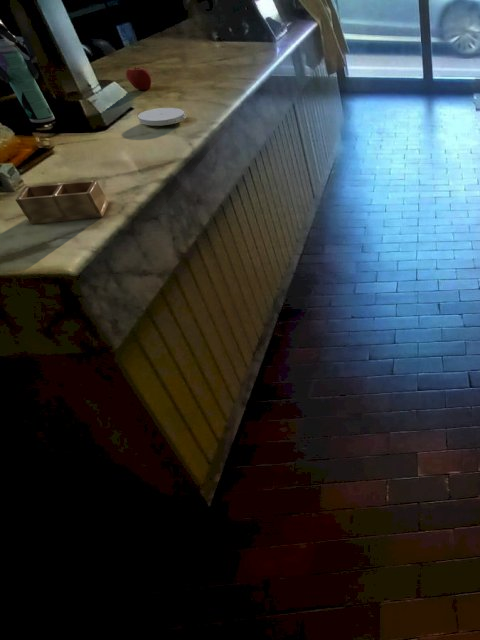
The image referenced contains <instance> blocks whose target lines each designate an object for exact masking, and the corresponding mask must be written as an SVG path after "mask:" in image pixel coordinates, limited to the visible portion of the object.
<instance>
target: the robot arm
mask: <svg viewBox="0 0 480 640" xmlns="http://www.w3.org/2000/svg"><path fill="white" fill-rule="evenodd" d="M0 33H1V35H2V36H3V37H4V38H6V40H9V41H11V42H14V43H15V45H16V46H17V45H18V44H20V45H21V46H22V47H23V48H25V49H26V51H27V53H28V54H26V53H25V52H24V51H22V50H21V49H20V47H18V49H19V51H20V53H21V55H22V57H23V58H24V60H25V62H26V64H27V66H28V68H29V70H30V72H31V74H32V76H33V77H34V79H35V80H39V76H40V75H39V70H38V69H37V68H36V66H35V65H34V64H37V63H38V62H39V61H38V58H37V54H36V52H35V49H34V47H33V44H32V42H31V40H30V38H29V36H28V35H27V34H22V35H21V36H16V35H14V34H12V33H11V32H10V31H9V30H8V28H7V26H6V25H5V24H4V22H3V21H2V19H0ZM0 80H1V81H3V82H5V83H6V84H10V80H9V78H8V76H7V75H6V73H5V72H4V70H3V69H2V68H1V66H0Z"/></svg>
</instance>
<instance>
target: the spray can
mask: <svg viewBox="0 0 480 640" xmlns="http://www.w3.org/2000/svg"><path fill="white" fill-rule="evenodd" d="M18 48H19V47H18V46H17V45H15V43H14V42H11V41H9V40H6V38H4V37H3V36H2V35H1V33H0V66H1V68H2V69H3V70H4V72H5V73H6V75H7V76H8V78H9V80H10V83H9V85H10V87H11V89H12V90H13V93H14V94H15V96H16V98H17V99H18V101H19V103H20V106H21V107H22V108H23V111H24V112H25V114H26V115H27V117H28V119H29V121H30V122H31V123H37V124H39V123H41V124H42V123H47V122H52V121H53V120H54V121H55V119H56V118H55V115H54V114H53V112H52V110H51V108H50V106H49V104H48V102H47V100H46V98H45V97H44V95H43V92H42V91H41V89H40V87H39V85H38V83H37V81H36V79H34V77H33V76H32V74H31V72H30V70H29V68H28V66H27V64H26V62H25V60H24V58H23V57H22V55H21V53H20V51H19V49H20V48H19V49H18Z"/></svg>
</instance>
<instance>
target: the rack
mask: <svg viewBox="0 0 480 640" xmlns="http://www.w3.org/2000/svg"><path fill="white" fill-rule="evenodd" d="M15 202H16V203H17V206H18V207H19V208H20V209H21V211H22V212H23V214H24V216H25V217H26V219H27V221H28V222H29V223H30V224H31V225H35V224H45V223H55V222H57V223H58V222H66V221H75V220H85V219H95V218H103V216H104V214H105V213H106V210H107V208H108V206H109V201H108V200H107V197H106V196H105V194H104V191H103V189H102V187H101V186H100V184H99V182H98V180H85V181H73V182H72V181H71V182H63V183H50V184H36V185H26V186H24V187H23V189H22V190H21V192H20V193H19V194H18V196H16V198H15Z"/></svg>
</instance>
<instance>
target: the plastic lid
mask: <svg viewBox="0 0 480 640" xmlns="http://www.w3.org/2000/svg"><path fill="white" fill-rule="evenodd" d="M137 118H138V120H139V122H140V124H141V125H144V126H152V127H153V126H154V127H155V126H169V125H174V124H179V123H180V122H182V121H185V120H186V119H187V115H186V113H185V111H184V110H183V109H181V108H176V107H159V108H151V109H147V110H145V111H141V112H140V113H138V114H137Z"/></svg>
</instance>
